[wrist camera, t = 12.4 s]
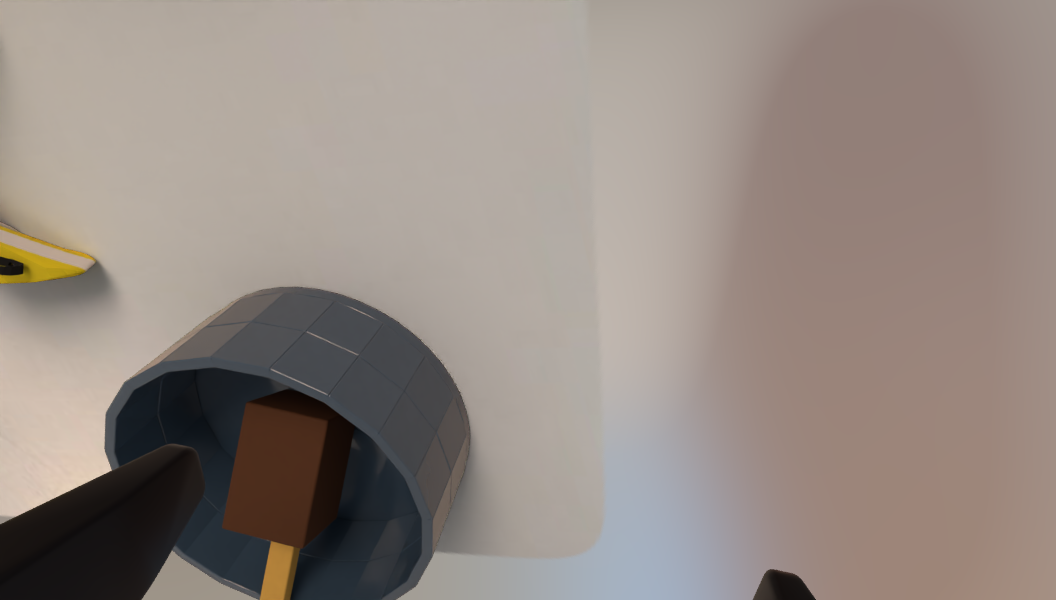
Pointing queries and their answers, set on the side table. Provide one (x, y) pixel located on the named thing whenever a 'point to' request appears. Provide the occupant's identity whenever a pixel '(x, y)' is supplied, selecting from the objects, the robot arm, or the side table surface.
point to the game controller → (36, 259)
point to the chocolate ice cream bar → (287, 479)
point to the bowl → (344, 385)
